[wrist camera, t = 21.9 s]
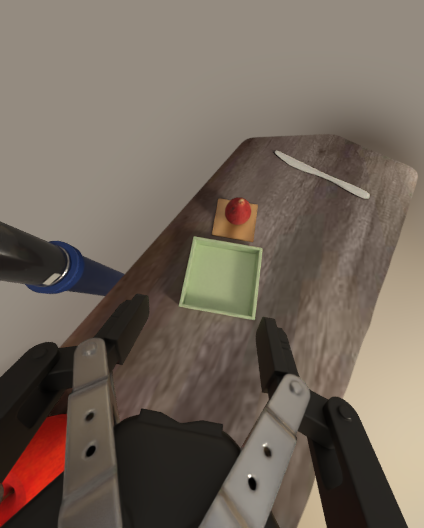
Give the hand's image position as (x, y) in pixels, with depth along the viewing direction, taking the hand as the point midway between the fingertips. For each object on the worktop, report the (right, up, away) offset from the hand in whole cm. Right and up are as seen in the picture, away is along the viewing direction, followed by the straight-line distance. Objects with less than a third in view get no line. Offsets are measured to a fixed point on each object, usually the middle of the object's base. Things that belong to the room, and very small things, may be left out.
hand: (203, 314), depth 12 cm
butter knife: (+29, +27, +35) cm, 53 cm away
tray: (+3, 0, +28) cm, 28 cm away
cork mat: (+6, +14, +31) cm, 35 cm away
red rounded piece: (+6, +14, +31) cm, 35 cm away
